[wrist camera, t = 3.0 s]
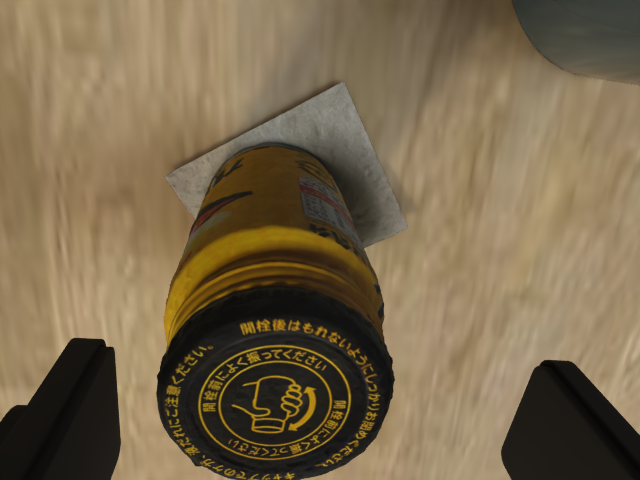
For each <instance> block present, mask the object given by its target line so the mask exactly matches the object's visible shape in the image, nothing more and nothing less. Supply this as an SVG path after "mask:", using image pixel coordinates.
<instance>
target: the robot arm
mask: <svg viewBox="0 0 640 480" xmlns="http://www.w3.org/2000/svg"><path fill="white" fill-rule="evenodd" d="M120 445H121V439H120V424H119V409H118V394H117V379H116V364H115V351H114V348H113V347H106V344H105V341H104V340H103V339H87V338H73V339H71V340H70V342H69V343H68V344H67V346H66V347H65V349H64V350H63V352H62V353H61V355H60V356H59V358H58V359H57V361H56V363H55V364H54V366H53V367H52V369H51V370H50V372H49V373H48V375H47V376H46V378H45V379H44V381H43V382H42V384H41V385H40V387H39V388H38V390H37V391H36V393H35V394H34V396H33V397H32V399H31V400H30V402H29V403H28V405H16V406H14V407H13V408H11V409H10V410H9V412H8V413H7V414H6V415H5V416H4V418H3V419H2V421H1V422H0V480H111V477H112V474H113V471H114V469H115V466H116V463H117V460H118V457H119V452H120ZM501 456H502V461H503V464H504V466H505V468H506V470H507V472H508V474H509V476H510V478H511V479H512V480H640V435H639V434H638V433H637V432H636V431H635V430H634V428H633V427H632V426H631V425H630V424H629V423H628V422H627V421H626V420H625V419H624V418H623V416H622V415H621V414H620V413H619V412H618V411H617V410H616V409H615V408H614V407H613V405H612V404H611V403H610V402H609V401H608V400H607V399H606V398H605V397H604V396H603V394H602V393H601V392H600V391H599V390H598V389H597V388H596V387H595V386H594V385H593V383H592V382H591V381H590V380H589V379H588V378H587V377H586V376H585V375H584V374H583V373H582V371H581V370H580V369H579V368H578V367H577V366H576V365H575V364H574V363H572V362H570V361H558V360H544V361H543V362H541V364H540V365H539V366H537V367H536V368H535V369H534V370H533V372H532V375H531V377H530V380H529V382H528V385H527V387H526V390H525V392H524V395H523V397H522V399H521V402H520V404H519V407H518V409H517V412H516V414H515V417H514V419H513V422H512V424H511V427H510V429H509V431H508V434H507V436H506V439H505V441H504V444H503V446H502V450H501Z"/></svg>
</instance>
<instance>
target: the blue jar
mask: <svg viewBox="0 0 640 480" xmlns="http://www.w3.org/2000/svg"><path fill="white" fill-rule="evenodd" d="M513 4H514V8H515V11H516V14H517V16H518V19H519V21H520V24H521V26H522V28H523V29H524V31H525V33H526V35H527V36H528V38H529V40H530V41H531V42H532V44H533V45H534V46H535V47H536V48H537V50H538V51H539V52H540V53H541V54H542V55H543V56H544V57H546V58H547V59H548V60H549V61H550V62H552V63H553V64H555V65H557V66H558V67H560V68H561V69H563V70H566V71H568V72H571V73H573V74H576V75H580V76H585V77H589V78H595V79H601V80H607V81H613V82H619V83H625V84H631V85H637V86H640V0H513Z"/></svg>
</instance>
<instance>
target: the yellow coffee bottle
mask: <svg viewBox="0 0 640 480" xmlns="http://www.w3.org/2000/svg"><path fill="white" fill-rule="evenodd" d="M164 177H165V179H166V180H167V181H168V183H169V184H170V185H171V187H172V188H173V190H174V191H175V193H176V194H177V196H178V197H179V199H180V200H181V201H182V202H183V204H184V205H185V207H186V209H187V210H188V211H189V212H190V214H191V215H192V217H193V218H194V219H195V222H194V224H193V226H192V228H191V231H190V234H189V239H188V242H187V245H186V248H185V250H184V253H183V255H182V258H181V260H180V262H179V265H178V268H177V270H176V273H175V274H174V276H173V279H172V281H171V284H170V290H169V294H168V298H167V301H166V309H165V316H164V329H165V334H166V341H167V350H166V353H165V354H164V356H163V358H162V361H161V366H160V372H159V373H158V375H157V379H158V385H157V393H156V394H157V402H158V410H159V414H160V419H161V421H162V424H163V426H164V428H165V430H166V431H167V433H168V435H169V436H170V438H171V439H172V440H173V441H174V442H175V443H176V444H177V445H178V446H179V448H180V449H181V450H182V451H183V452H184V453H185V454H186V455H187V456H188V457H189V458H190V459H191V460H192V462H193V463H194V465H195V466H203V467H206V468H208V469H209V470H211V471H213V472H214V473H217V474H219V475H222V476H224V477H227V478H230V479H235V480H300V479H304V478H309V477H314V476H319V475H322V474H326V473H328V472H330V471H332V470H334V469H336V468H338V467H341V466H343V465H345V464H347V463H348V462H349V461H351V460H352V459H353V458H355V457H356V456H358V455H359V454H361V453H363V452H364V451H365V450H366V448H367V447H368V446H369V445H370V443H371V442H372V441H373V440H374V439H375V438H376V436H377V434H378V432H379V430H380V428H381V426H382V423H383V420H384V418H385V416H386V414H387V412H388V409H389V404H390V400H391V399H392V397H393V394H392V393H393V384H394V381H395V379H394V375H393V370H392V363H393V360H392V358H391V356H390V355H389V353H388V351H387V347H386V345H385V343H384V336H383V330H382V324H383V321H384V302H383V298H382V295H381V290H380V287H379V284H378V279H377V276H376V274H375V272H374V270H373V268H372V266H371V264H370V262H369V259H368V257H367V255H366V252H365V250H364V248H366V247H368V246H370V245H372V244H374V243H376V242H379V241H382V240H384V239H386V238H389V237H391V236H393V235H395V234H397V233H399V232H401V231H403V230H405V229H407V228H409V227H408V224H407V222H406V220H405V218H404V216H403V214H402V211H401V209H400V207H399V205H398V202H397V200H396V198H395V196H394V194H393V191H392V189H391V187H390V185H389V182H388V180H387V178H386V176H385V174H384V172H383V169H382V167H381V164H380V162H379V160H378V158H377V155H376V153H375V151H374V149H373V147H372V144H371V142H370V140H369V137H368V135H367V133H366V131H365V128H364V126H363V124H362V121H361V119H360V117H359V115H358V113H357V110H356V108H355V106H354V103H353V101H352V99H351V96H350V94H349V92H348V90H347V88H346V85H345V83H344V81H343V82H341V83H339V84H338V85H336V86H334V87H332V88H330V89H328V90H327V91H325V92H323V93H321V94H319V95H317V96H315V97H313V98H311V99H309V100H307V101H306V102H304V103H302V104H300V105H298V106H296V107H294V108H293V109H291V110H289V111H287V112H285V113H283V114H281V115H279V116H277V117H276V118H274V119H271V120H270V121H268V122H266V123H264V124H262V125H260V126H258V127H256V128H254V129H252V130H250V131H248V132H246V133H244V134H242V135H241V136H239V137H237V138H235V139H233V140H231V141H229V142H228V143H226V144H224V145H222V146H220V147H218V148H216V149H214V150H212V151H210V152H208V153H207V154H205V155H203V156H201V157H199V158H197V159H196V160H194V161H192V162H190V163H188V164H186V165H184V166H182V167H180V168H178V169H177V170H175V171H173V172H171V173H169V174H168V175H166V176H164Z"/></svg>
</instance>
